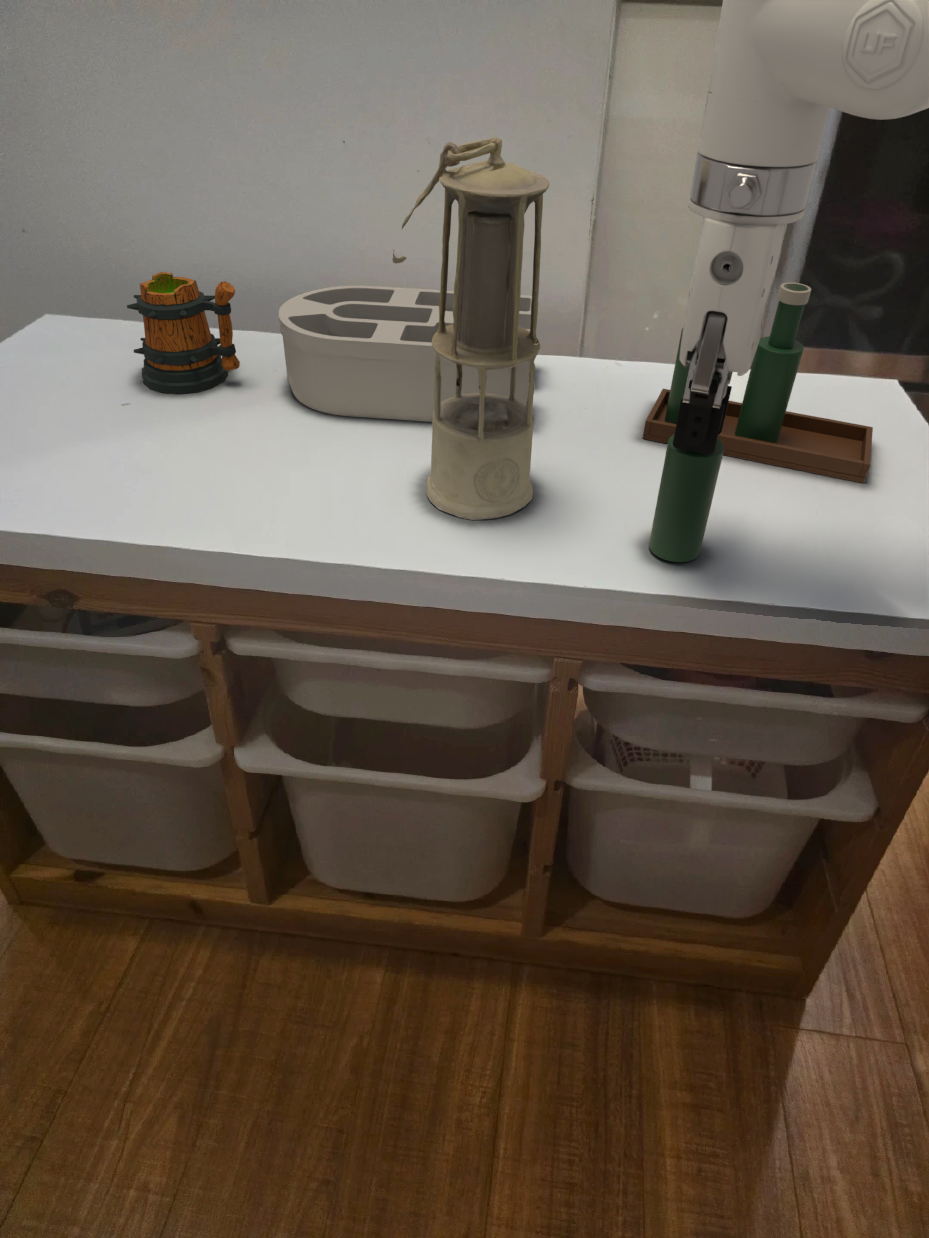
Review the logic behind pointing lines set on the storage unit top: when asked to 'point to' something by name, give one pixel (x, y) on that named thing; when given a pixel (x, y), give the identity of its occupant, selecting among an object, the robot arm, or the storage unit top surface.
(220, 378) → the mug
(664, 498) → the bottle
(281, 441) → the storage unit top surface
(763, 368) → the bottle mid
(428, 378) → the grey compartment organizer
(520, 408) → the lamp
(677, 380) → the bottle end
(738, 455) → the tray
